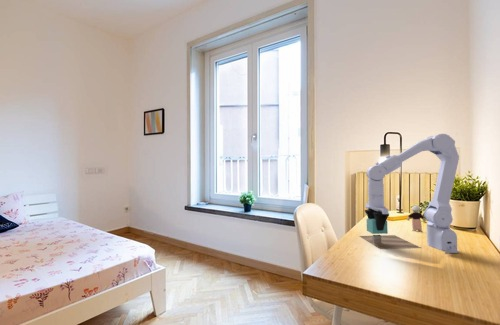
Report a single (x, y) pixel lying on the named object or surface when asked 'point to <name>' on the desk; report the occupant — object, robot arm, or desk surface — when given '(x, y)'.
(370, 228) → the teal mini fridge
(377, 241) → the plate
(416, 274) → the desk surface
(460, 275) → the desk surface
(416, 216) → the grandmother figurine
